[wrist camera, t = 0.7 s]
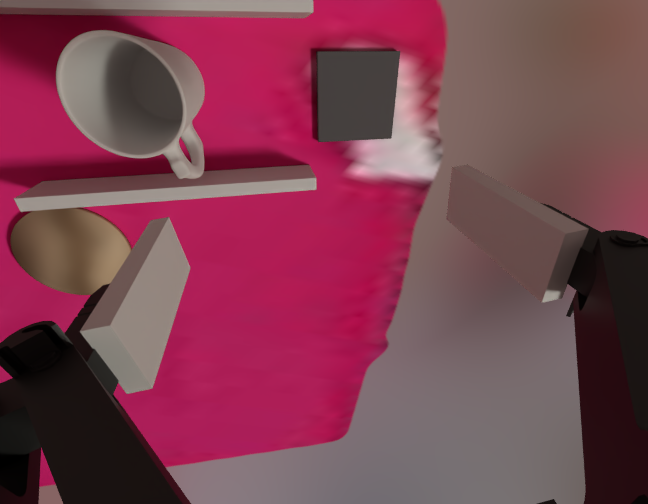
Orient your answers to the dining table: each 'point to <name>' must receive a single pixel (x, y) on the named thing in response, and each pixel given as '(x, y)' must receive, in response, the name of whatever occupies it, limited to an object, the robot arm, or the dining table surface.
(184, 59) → the mug
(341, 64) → the pad
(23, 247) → the coaster
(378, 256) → the dining table surface
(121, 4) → the channel
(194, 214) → the dining table surface
